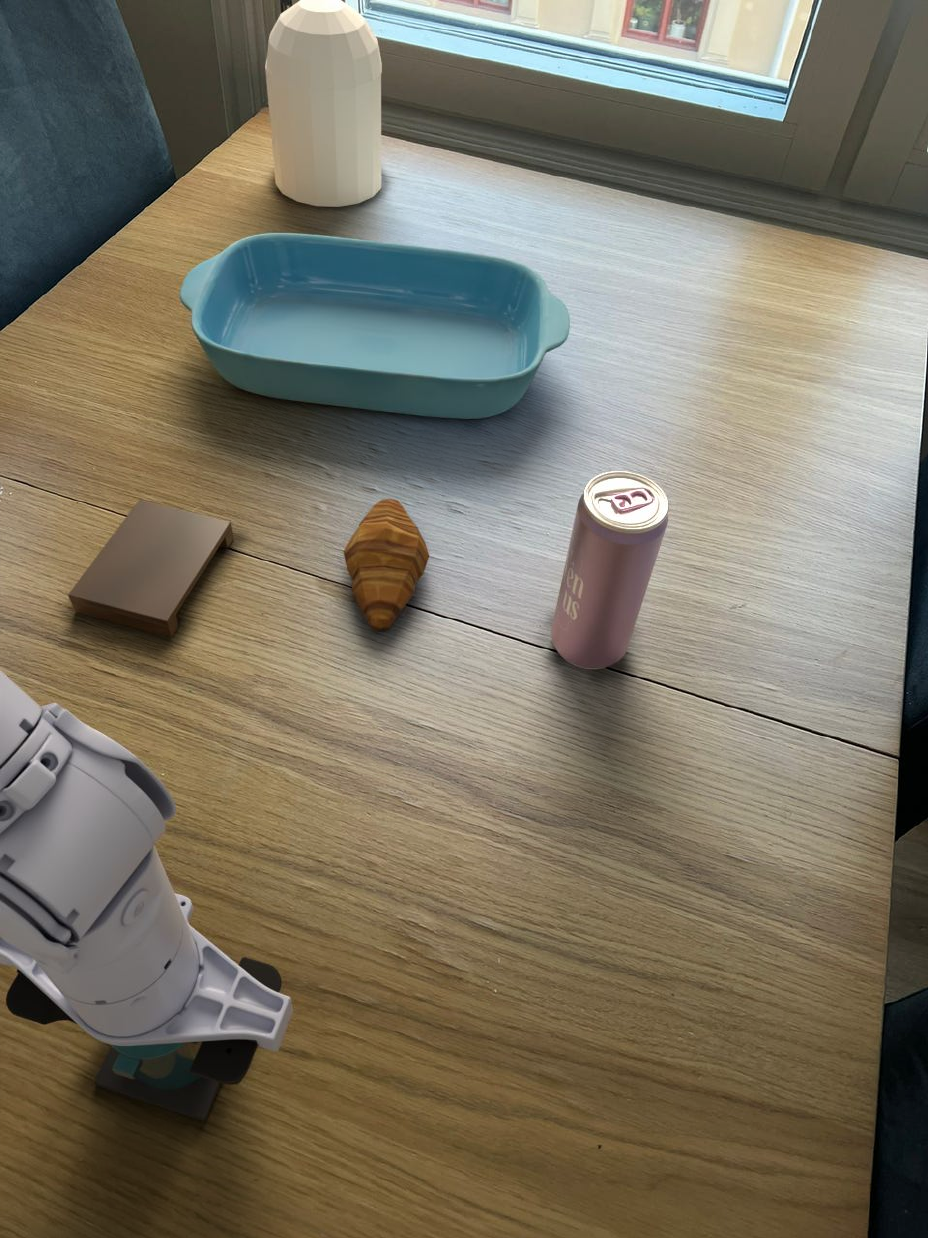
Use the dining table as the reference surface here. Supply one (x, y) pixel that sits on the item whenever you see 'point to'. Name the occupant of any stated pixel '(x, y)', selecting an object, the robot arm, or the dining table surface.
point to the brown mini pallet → (150, 567)
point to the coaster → (160, 1091)
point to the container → (325, 104)
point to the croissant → (385, 562)
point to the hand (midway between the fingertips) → (170, 1031)
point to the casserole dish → (374, 324)
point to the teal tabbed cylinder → (158, 1064)
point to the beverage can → (608, 567)
